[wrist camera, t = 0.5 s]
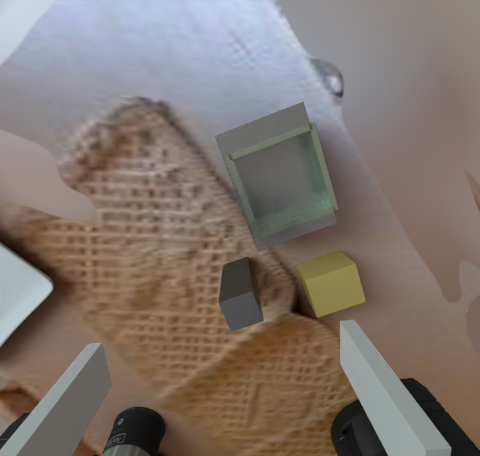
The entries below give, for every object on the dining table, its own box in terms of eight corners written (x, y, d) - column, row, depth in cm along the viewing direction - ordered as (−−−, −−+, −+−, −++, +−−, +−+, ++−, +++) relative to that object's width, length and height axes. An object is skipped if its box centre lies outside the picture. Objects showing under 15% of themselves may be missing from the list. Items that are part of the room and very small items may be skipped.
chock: (349, 283, 41) (365, 301, 36) (306, 297, 42) (317, 317, 36) (339, 249, 40) (355, 263, 34) (295, 265, 40) (305, 280, 35)
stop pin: (256, 279, 41) (263, 320, 30) (232, 287, 41) (231, 331, 30) (247, 256, 40) (252, 291, 29) (223, 265, 40) (218, 302, 29)
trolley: (317, 211, 38) (348, 229, 28) (253, 234, 39) (259, 260, 29) (289, 114, 35) (311, 94, 24) (219, 141, 35) (212, 133, 25)
